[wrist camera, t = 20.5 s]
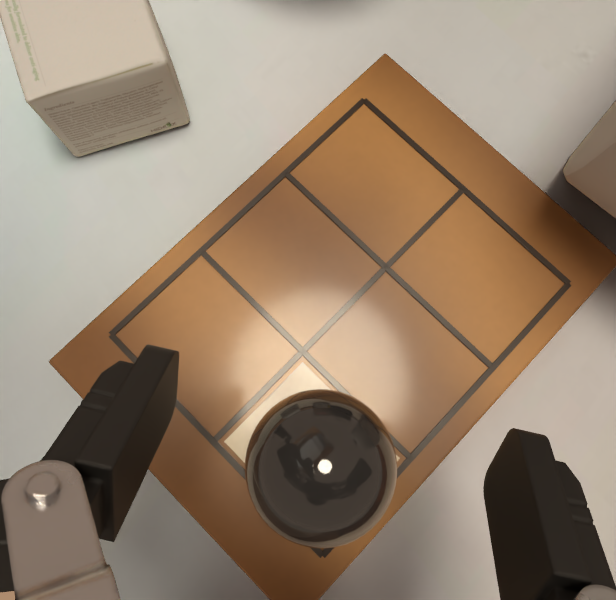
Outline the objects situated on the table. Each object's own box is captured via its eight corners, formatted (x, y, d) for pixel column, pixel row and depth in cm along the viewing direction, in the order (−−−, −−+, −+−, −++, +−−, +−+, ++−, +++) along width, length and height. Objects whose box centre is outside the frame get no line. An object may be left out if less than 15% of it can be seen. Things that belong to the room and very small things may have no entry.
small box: (41, 57, 26) (-15, -23, 22) (158, 23, 27) (129, -62, 22) (73, 163, 25) (22, 104, 21) (194, 125, 26) (172, 59, 21)
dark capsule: (258, 514, 21) (239, 572, 14) (255, 398, 22) (236, 389, 14) (372, 508, 22) (418, 562, 14) (365, 393, 22) (405, 382, 15)
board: (294, 615, 22) (294, 628, 21) (59, 363, 24) (46, 361, 22) (607, 266, 25) (624, 259, 24) (381, 67, 27) (385, 50, 26)
